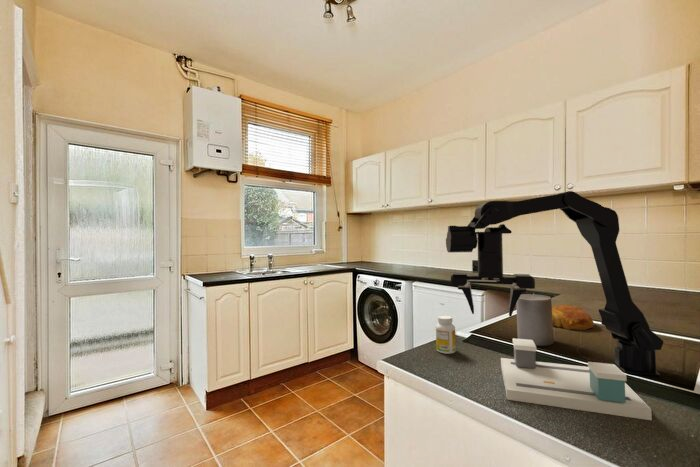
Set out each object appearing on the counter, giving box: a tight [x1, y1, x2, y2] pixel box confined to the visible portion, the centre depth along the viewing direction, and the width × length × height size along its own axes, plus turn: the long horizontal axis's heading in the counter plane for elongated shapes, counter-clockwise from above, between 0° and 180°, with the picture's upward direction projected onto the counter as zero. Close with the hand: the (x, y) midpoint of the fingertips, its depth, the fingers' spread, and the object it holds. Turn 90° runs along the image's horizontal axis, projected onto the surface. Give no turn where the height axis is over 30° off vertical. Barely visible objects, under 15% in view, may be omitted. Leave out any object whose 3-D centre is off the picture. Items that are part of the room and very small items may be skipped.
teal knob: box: [587, 361, 627, 403], centre depth 62 cm, size 4×5×5 cm
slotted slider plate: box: [500, 357, 653, 421], centre depth 70 cm, size 23×18×2 cm
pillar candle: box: [515, 292, 555, 347], centre depth 101 cm, size 10×10×15 cm
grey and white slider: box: [512, 338, 537, 368], centre depth 78 cm, size 4×5×5 cm
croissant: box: [552, 304, 595, 331], centre depth 117 cm, size 14×16×8 cm
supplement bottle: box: [435, 315, 457, 355], centre depth 94 cm, size 5×5×10 cm
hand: (491, 314), depth 81 cm, fingers open, 8 cm apart
